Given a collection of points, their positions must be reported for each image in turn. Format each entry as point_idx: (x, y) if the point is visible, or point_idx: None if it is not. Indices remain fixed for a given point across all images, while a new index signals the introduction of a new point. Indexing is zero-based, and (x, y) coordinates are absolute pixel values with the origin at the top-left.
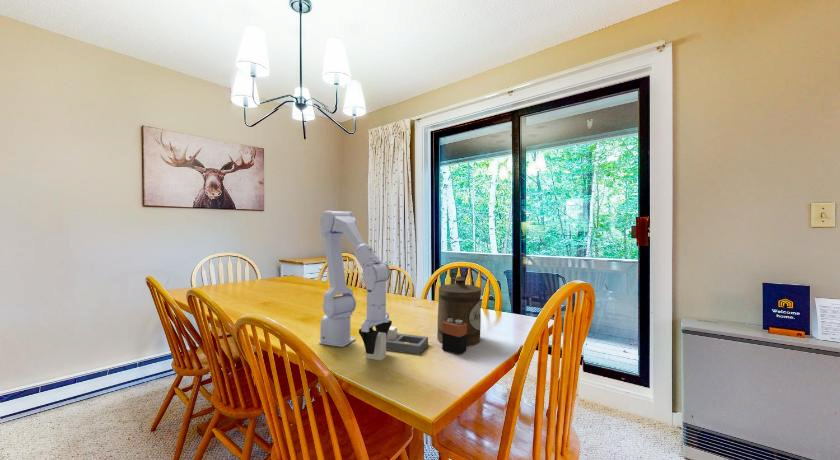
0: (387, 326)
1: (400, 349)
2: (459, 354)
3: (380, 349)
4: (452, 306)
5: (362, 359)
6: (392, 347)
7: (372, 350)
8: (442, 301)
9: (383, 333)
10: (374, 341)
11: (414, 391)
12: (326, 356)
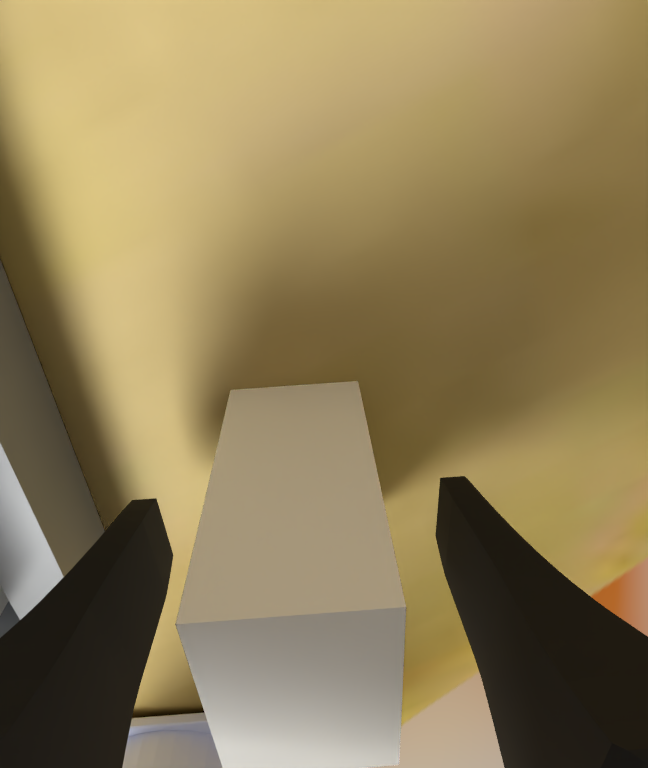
0: (9, 754)
1: (4, 315)
2: None
3: (374, 458)
4: None
5: (399, 519)
6: (38, 419)
7: (490, 507)
8: None
9: (223, 643)
10: (556, 591)
11: None
12: (434, 700)
